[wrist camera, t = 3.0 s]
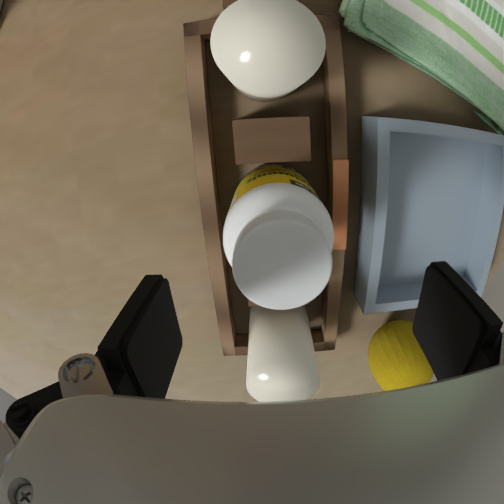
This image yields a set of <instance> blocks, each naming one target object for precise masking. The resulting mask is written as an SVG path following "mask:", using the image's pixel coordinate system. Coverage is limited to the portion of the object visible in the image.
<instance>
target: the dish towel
mask: <svg viewBox="0 0 504 504" xmlns="http://www.w3.org/2000/svg"><path fill="white" fill-rule="evenodd" d="M339 13H340V14H341V16H342V17H344V18H345V19H344V23H343V26H344V27H346V28H347V31H348V32H350V33H355V34H356V35H357V36H359V37H361V38H363V39H365V40H367V41H369V42H371V43H373V44H375V45H377V46H378V47H380V48H382V49H384V50H386V51H388V52H390V53H392V54H393V55H395V56H397V57H399V58H400V59H402V60H404V61H405V62H407V63H409V64H411V65H413V66H414V67H416V68H418V69H420V70H421V71H423V72H425V73H426V74H428V75H430V76H431V77H433V78H434V79H436V80H437V81H439V82H440V83H442V84H444V85H445V86H447V87H448V88H450V89H451V90H452V91H454V92H455V93H457V94H458V95H459V96H461V97H462V98H464V99H465V100H467V101H468V102H470V103H471V104H472V105H474V106H475V107H476V108H478V109H479V110H480V111H482V112H483V113H484V114H481V113H478V112H476V111H474V112H475V113H476V114H477V115H478V116H479V117H480V118H481V119H482V120H483V121H485V122H486V123H487V124H488V125H489V126H490V127H492V128H493V129H494V130H495V131H496V132H497V133H498V134H500V135H504V0H342V3H341V6H340V9H339ZM491 119H492V120H493V121H494V122H495V123H496V124H497V125H498V126H499V127H498V128H496V127H495V126H494V124H493V122H492V121H491Z"/></svg>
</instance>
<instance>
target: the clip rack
mask: <svg viewBox="0 0 504 504" xmlns="http://www.w3.org/2000/svg"><path fill="white" fill-rule="evenodd" d="M236 1H238V0H223V8H224V10H225V9H226V8H227V7H228V6H230V5H231V4H232V3H234V2H236ZM296 1H298V2H300V1H299V0H296ZM315 16H316V17H317V19H318V20H319V22H320V24H321V26H322V28H323V31H324V34H325V39H326V49H325V55H324V58H323V61H322V69H323V83H324V99H325V119H326V148H327V211H328V213H329V215H330V218H331V220H332V224H333V229H334V244H333V249H332V252H331V254H332V272H331V276H330V279H329V281H328V283H327V285H326V286H325V288H324V299H323V314H322V327H321V330H314V331H311V335H312V340H313V346H314V351H326V350H335V344H336V336H337V328H338V320H339V311H340V301H341V291H342V280H343V267H344V253H345V249H346V240H347V221H348V190H349V160H348V159H347V114H346V93H345V77H344V64H343V53H342V42H341V33H340V25H339V17H338V16H331V15H315ZM216 20H217V19H209V20H202V21H196V22H190V23H184V24H183V26H184V44H185V59H186V73H187V85H188V97H189V108H190V119H191V129H192V139H193V148H194V158H195V166H196V175H197V183H198V192H199V200H200V207H201V215H202V222H203V230H204V237H205V244H206V251H207V258H208V264H209V271H210V277H211V284H212V290H213V296H214V302H215V308H216V314H217V320H218V326H219V332H220V337H221V343H222V348H223V354H224V356H232V355H248V341H249V334H237V335H236V334H235V327H234V319H233V312H232V304H231V296H230V289H229V281H228V273H227V265H226V256H225V251H224V247H223V231H222V222H221V213H220V204H219V195H218V185H217V175H216V166H215V156H214V145H213V135H212V124H211V113H210V101H209V89H208V76H207V63H206V50H205V40H210V38H211V32H212V29H213V26H214V24H215V22H216ZM232 127H233V139H234V151H235V163H236V165H239V164H254V163H271V162H295V161H311V142H310V120H309V117H301V116H298V117H269V118H252V119H238V120H232ZM308 303H310V302H308ZM249 306H260V305H257V304H256V303H254V302H252V301H251V300H249V299H248V307H249Z"/></svg>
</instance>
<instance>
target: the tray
mask: <svg viewBox="0 0 504 504" xmlns="http://www.w3.org/2000/svg"><path fill="white" fill-rule="evenodd" d="M361 122H362V182H361V209H360V227H359V241H358V254H357V265H356V275H355V284H354V294H355V296H356V299H357V301H358V303H359V305H360V307H361V310H362V312H363V314H371V313H380V312H389V311H397V310H405V309H413V308H417V306H418V302H419V298H420V293H421V289H422V284H423V280H424V275H425V270H426V268H427V266H429V265H430V263H431V262H438V261H446V262H447V263H448V264H449V265H450V266H451V267H452V268H453V269H454V270H455V271H456V272H457V273H458V274H459V275H460V276H461V277H462V278H463V279H464V280H465V281H466V282H467V283H468V284H469V285H470V286H471V287H472V289H473V290H474V291H475V292H476V293H477V294H478V295H479V296H480V297H481V296H482V294H483V291H484V288H485V284H486V281H487V278H488V274H489V271H490V267H491V263H492V260H493V256H494V252H495V247H496V243H497V239H498V234H499V229H500V224H501V219H502V213H503V207H504V135H500V134H495V133H491V132H486V131H481V130H476V129H471V128H465V127H460V126H454V125H447V124H441V123H433V122H426V121H417V120H408V119H398V118H386V117H372V116H361Z"/></svg>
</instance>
